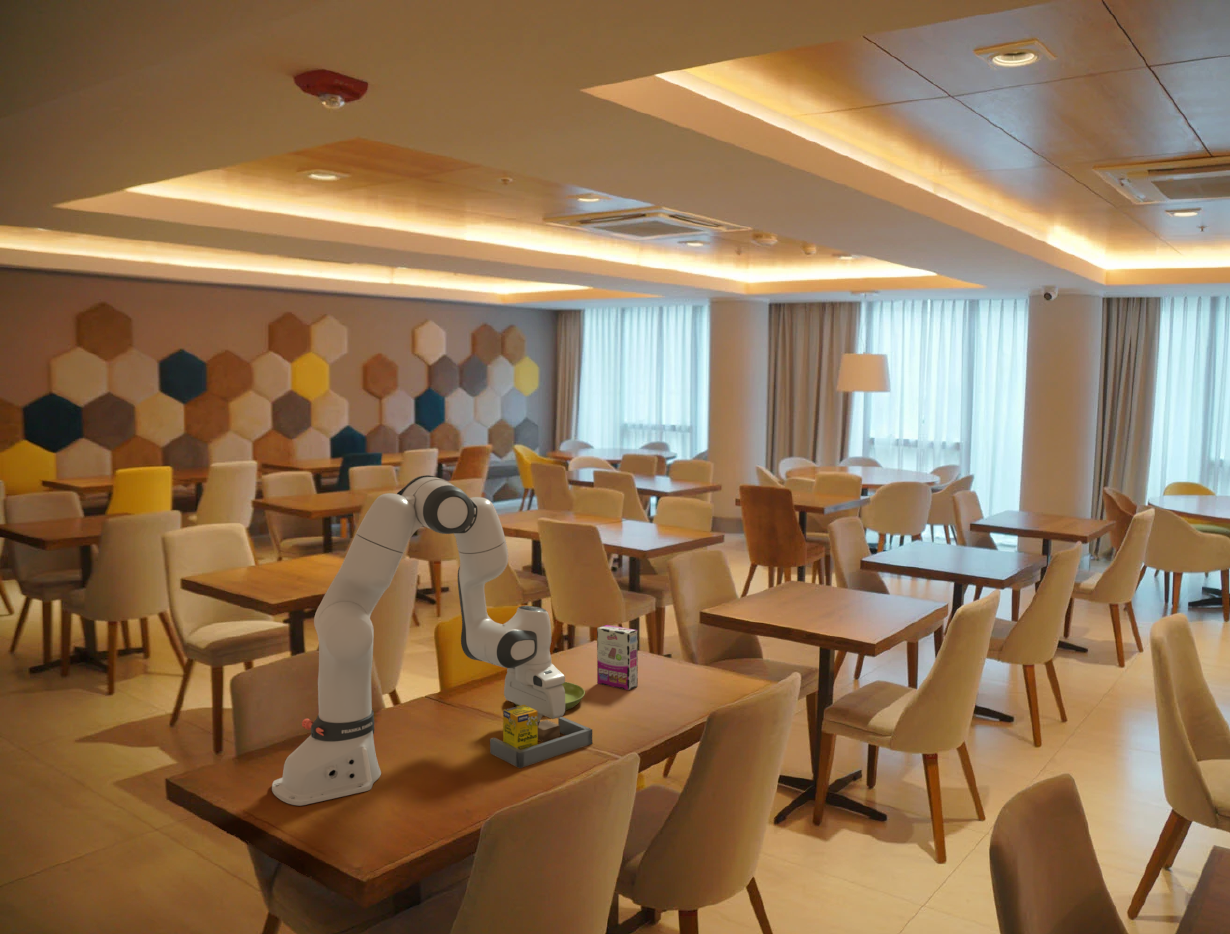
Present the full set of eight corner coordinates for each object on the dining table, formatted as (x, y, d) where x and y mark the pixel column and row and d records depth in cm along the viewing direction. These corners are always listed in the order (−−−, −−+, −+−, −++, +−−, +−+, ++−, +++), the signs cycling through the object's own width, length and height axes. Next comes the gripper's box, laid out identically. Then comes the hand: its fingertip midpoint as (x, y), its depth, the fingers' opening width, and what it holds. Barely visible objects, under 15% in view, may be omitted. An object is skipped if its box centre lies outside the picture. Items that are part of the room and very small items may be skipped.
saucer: (555, 722, 238) (555, 710, 237) (492, 707, 248) (491, 696, 248) (599, 699, 255) (599, 687, 255) (538, 686, 266) (538, 675, 266)
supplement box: (516, 763, 211) (516, 716, 210) (502, 755, 216) (502, 709, 215) (538, 756, 215) (538, 710, 214) (524, 749, 220) (523, 703, 219)
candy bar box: (638, 686, 265) (638, 629, 264) (628, 691, 261) (628, 633, 260) (606, 679, 271) (606, 623, 270) (596, 683, 267) (596, 627, 266)
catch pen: (519, 768, 208) (519, 753, 208) (490, 753, 217) (490, 738, 217) (592, 743, 223) (592, 729, 222) (562, 730, 231) (562, 716, 231)
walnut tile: (543, 742, 224) (543, 730, 223) (530, 736, 227) (530, 724, 227) (559, 737, 227) (559, 725, 227) (546, 731, 231) (546, 719, 230)
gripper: (497, 664, 234) (498, 718, 235) (549, 683, 219) (549, 741, 220) (518, 659, 238) (518, 712, 239) (569, 677, 223) (570, 734, 224)
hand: (533, 726), depth 230 cm, fingers closed
